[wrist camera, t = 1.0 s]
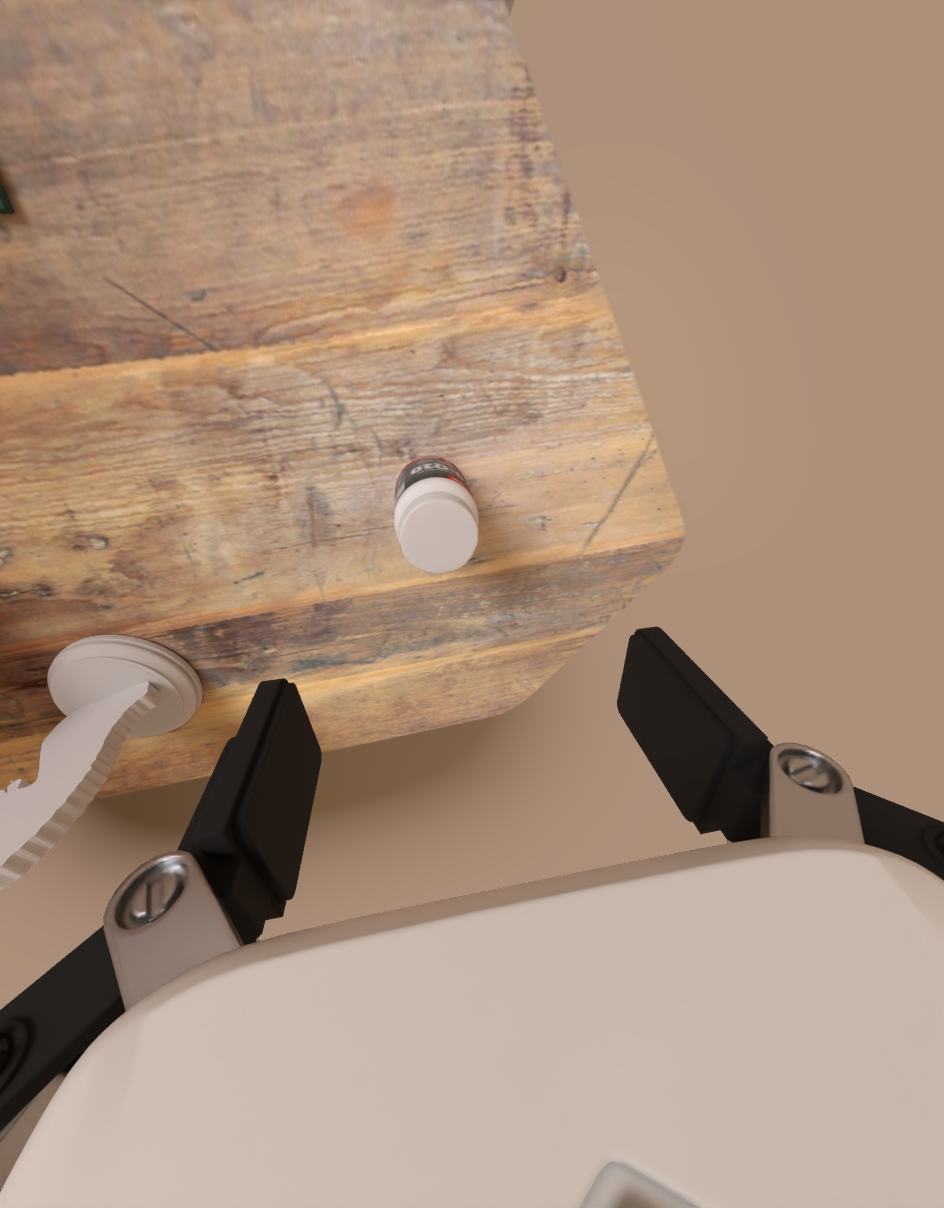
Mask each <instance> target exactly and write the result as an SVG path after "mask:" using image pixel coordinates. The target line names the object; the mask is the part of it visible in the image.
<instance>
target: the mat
mask: <svg viewBox="0 0 944 1208" xmlns="http://www.w3.org/2000/svg"><path fill="white" fill-rule="evenodd" d="M0 213H14V211H13V209H12V207H11V205H10V203H9V201H8V199H7V197H6V195H5V193H4V191H3V189H2V186H1V184H0Z"/></svg>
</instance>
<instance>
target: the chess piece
mask: <svg viewBox="0 0 944 1208" xmlns="http://www.w3.org/2000/svg"><path fill="white" fill-rule="evenodd" d="M47 681H48V687H49V690H50V692H51V696H52V698H53V701H54V702H55V704H56V705H57V707H58V708H59V709H60V710H61V711H62V712H63V713H64V714H65V715H66V716H67V717H66V718H65V719H64V720H62V721H61V722H60V723H59V724H58V725H57V726H56V727H55V728H54V729H53V730H52V731H51V732H50V733H49V734H48V736H47V737H46V738H45V740H44V742H43V744H42V748H41V753H40V768H39V773H38V778H37V780H36V781H35V782H34V783H33V784H32V785H31V784H29V783H27V782H26V781H24V780H22V779H18V780H16V781H12V780H11V784H10V785H9V786H8V787H7V789H8V791H7V792H6V791H4V790H1V791H0V890H1V889H4V888H6V887H7V886H8V885H10V884H11V883H12V882H13V881H14V880H16V879H18V878H20V877H22V876H24V875H25V874H26V872H27V871H28V870H29V869H30V867H31V866H32V865H33V864H34V863H35V862H37V861H38V860H40V859H41V858H42V857H43V856H44V855H45V853H46V852H47V851H48V850H49V849H50V848H52V847H53V846H55V845H56V844H57V842H58V841H59V839H60V838H61V836H62V835H63V834H64V833H65V832H67V831H68V830H69V829H70V828H71V826H72V825H73V823H74V821H75V820H76V819H77V818H78V817H79V816H80V815H81V814H82V813H83V812H84V811H85V808H86V806H87V805H88V804H89V803H90V802H91V801H92V800H93V798H94V796H95V794H96V793H97V792H98V791H99V790H100V789H101V786H102V784H103V783H104V782H105V781H106V780H107V779H108V777H107V775H108V773H109V772H110V771H111V770H112V765H113V764H114V763H115V761H116V758H117V756H118V753H119V750H120V748H121V746H122V744H123V743H124V741H125V738H145V737H151V736H155V735H159V734H162V733H166V732H169V731H172V730H174V729H176V728H178V727H180V726H182V725H183V724H184V723H186V722H187V721H188V720H189V719H190V718H191V717H192V716H193V715H194V714H195V713H196V711H197V710H198V708H199V706H200V704H201V701H202V697H203V689H202V685H201V682H200V679H199V677H198V675H197V674H196V672H195V671H194V670H193V668H192V667H191V666H190V665H189V664H188V663H187V662H186V661H185V660H183V659H182V658H181V657H180V656H178V655H177V654H175V653H174V652H172V651H170V650H168V649H167V648H165V647H163V646H160V645H158V644H156V643H153V642H150V641H147V640H144V639H140V638H136V637H131V636H124V635H98V636H92V637H87V638H83V639H80V640H78V641H76V642H73V643H72V644H70V645H68V646H67V647H66V648H64V649H63V650H62V651H61V652H60V653H59V654H58V655H57V656H56V657H55V659H54V660H53V663H52V664H51V666H50V668H49V671H48V676H47Z"/></svg>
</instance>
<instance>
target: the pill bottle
mask: <svg viewBox="0 0 944 1208" xmlns="http://www.w3.org/2000/svg"><path fill="white" fill-rule="evenodd" d="M478 524H479V514H478V509H477V505H476V502H475V500H474V498H473V496H472V494H471V492H470V490H469V488H468V486H467V484H466V482H465V480H464V477H463V476H462V474H461V472H460V471H459V469H458V468H457V467H456V466H455V465H454V464H453V463H451V462H450V461H448V460H446V459H444V458H442V457H438V456H423V457H419V458H417V459H414V460H413V461H411V462H410V463H408V464H407V465H406V466H405V467H404V469H403V470H402V471H401V473H400V475H399V477H398V479H397V483H396V488H395V504H394V527H395V531H396V534H397V537H398V539H399V540H400V545H401V548H402V551H403V553H404V555H405V556H406V558H407V559H408V560H409V561H410V562H411V563H412V564H413V565H414V566H415V567H417V568H419V569H421V570H423V571H425V572H429V573H435V574H442V573H448V572H452V571H454V570H457V569H458V568H460V567H462V566H463V565H464V564H466V563H467V562H468V561H469V560H470V558H471V557H472V556H473V554H474V552H475V550H476V547H477V544H478V537H479V533H478Z"/></svg>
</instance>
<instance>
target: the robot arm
mask: <svg viewBox="0 0 944 1208" xmlns="http://www.w3.org/2000/svg"><path fill="white" fill-rule="evenodd" d="M617 707H618V710H619V713H620V715H621V717H622V718H623V720H624V721H625V723H626V725H627V726H628V728H629V730H630V731H631V733H632V734H633V736H634V738H635V739H636V741H637V742H638V744H639V745H640V747H641V749H642V750H643V752H644V753H645V755H646V757H647V758H648V760H649V762H650V763H651V765H652V766H653V768H654V770H655V771H656V773H657V774H658V776H659V778H660V779H661V781H662V782H663V784H664V786H665V787H666V789H667V790H668V792H669V794H670V795H671V797H672V798H673V800H674V802H675V803H676V805H677V806H678V808H679V809H680V811H681V813H682V814H683V816H684V817H685V819H687V820H688V821H690V822H693V823H694V824H695V826H696V827H697V829H698V831H699V832H700V834H703V833H709V832H714V831H718V830H721V831H722V833H723V834H724V836H725V837H726V839H727V844H724V845H718V846H712V847H707V848H701V849H696V850H690V851H685V852H679V853H674V854H669V855H664V856H659V857H654V858H649V859H644V860H639V861H634V862H629V863H623V864H618V865H613V866H608V867H603V868H598V869H593V870H588V871H583V872H579V873H573V874H568V875H563V876H558V877H553V878H548V879H543V880H538V881H534V882H528V883H523V884H518V885H513V886H509V887H503V888H499V889H494V890H489V891H484V892H479V893H474V894H470V895H465V896H460V897H455V898H450V899H445V900H440V901H435V902H430V903H426V904H421V905H416V906H411V907H406V908H401V909H397V910H392V911H387V912H382V913H377V914H373V915H368V916H363V917H358V918H354V919H349V920H345V921H340V922H336V923H332V924H328V925H323V926H318V927H314V928H309V929H305V930H301V931H297V932H292V933H287V934H284V935H280V936H277V937H273V938H269V939H266V940H262V941H260V940H259V938H258V937H259V936H260V935H261V934H262V932H263V928H264V924H265V920H269V919H274V918H279V917H283V914H284V909H285V905H286V900H291V899H292V898H293V896H294V894H295V890H296V885H297V880H298V875H299V871H300V865H301V861H302V855H303V851H304V845H305V841H306V836H307V831H308V825H309V820H310V816H311V811H312V806H313V801H314V796H315V790H316V785H317V781H318V776H319V770H320V765H321V749H320V746H319V744H318V741H317V738H316V736H315V733H314V731H313V728H312V726H311V723H310V720H309V718H308V715H307V713H306V710H305V708H304V705H303V703H302V700H301V697H300V695H299V692H298V690H297V687H296V685H295V684H294V683H288V681H287V680H286V679H284V678H283V679H276V680H269V681H262V682H261V683H260V684H259V686H258V688H257V690H256V692H255V695H254V697H253V699H252V701H251V704H250V706H249V708H248V710H247V713H246V715H245V717H244V719H243V722H242V724H241V726H240V728H239V731H238V733H237V735H236V737H232V738H231V739H230V740H229V741H228V742H227V744H226V745H225V747H224V749H223V752H222V754H221V756H220V758H219V760H218V762H217V765H216V767H215V769H214V771H213V773H212V776H211V778H210V780H209V782H208V784H207V786H206V789H205V791H204V793H203V795H202V797H201V799H200V802H199V804H198V806H197V808H196V810H195V813H194V815H193V817H192V819H191V821H190V824H189V826H188V828H187V830H186V833H185V834H184V836H183V839H182V841H181V843H180V845H179V847H178V849H177V851H169V852H166V853H163V854H161V855H158V856H155V857H154V858H152V859H150V860H149V861H147V862H145V863H144V864H142V865H141V866H139V867H138V868H137V869H136V870H135V871H134V872H132V873H131V874H130V875H129V876H128V877H127V878H126V879H125V880H124V881H123V883H122V884H121V885H120V886H119V887H118V888H117V890H116V891H115V893H114V894H113V896H112V898H111V899H110V901H109V903H108V905H107V908H106V911H105V914H104V918H103V919H104V925H103V926H102V927H101V928H100V929H99V930H97V931H96V932H95V933H94V934H93V935H91V936H90V937H89V938H88V939H86V940H85V941H84V942H83V943H82V944H80V945H79V946H78V947H77V948H76V949H74V950H73V951H72V952H71V953H69V954H68V955H67V956H66V957H65V958H63V959H62V960H61V961H60V962H58V963H57V964H56V965H55V966H54V967H52V968H51V969H50V970H49V971H47V972H46V973H45V974H44V975H43V976H41V977H40V978H39V979H38V980H36V981H35V982H34V983H33V984H32V985H30V986H29V987H28V988H27V989H25V990H24V991H23V992H22V993H21V994H19V995H18V996H17V997H16V998H14V1000H12V1001H11V1002H10V1003H8V1004H7V1005H6V1006H5V1007H4V1008H2V1009H1V1010H0V1208H944V822H942V821H939V820H937V819H934V818H932V817H929V816H927V815H924V814H921V813H919V812H916V811H914V810H911V809H909V808H906V807H904V806H901V805H899V804H896V803H894V802H891V801H888V800H886V799H884V798H881V797H878V796H876V795H873V794H871V793H868V792H865V791H863V790H861V789H858V788H856V787H853V785H852V782H851V780H850V777H849V775H848V774H847V773H846V772H845V770H844V769H843V768H842V767H841V766H840V765H839V764H838V763H836V762H835V761H834V760H833V759H831V758H830V757H829V756H827V755H825V754H824V753H822V752H820V751H818V750H816V749H813V748H811V747H808V746H806V745H802V744H797V743H781V744H778V745H776V746H773V745H772V744H771V743H770V742H769V741H768V740H767V738H768V737H767V736H766V735H765V734H764V733H763V732H762V731H761V730H760V729H759V728H758V727H757V726H756V725H755V724H754V723H753V722H752V721H751V720H750V719H749V718H748V717H747V716H746V715H745V714H744V713H743V712H742V711H741V710H740V709H739V708H738V707H737V706H736V705H735V704H734V703H733V702H732V700H730V698H729V697H728V696H727V695H726V694H724V693H723V691H722V690H721V689H720V688H719V687H718V686H717V685H716V684H715V683H714V682H713V681H712V680H711V679H710V678H709V677H708V676H707V675H706V674H705V673H704V672H703V671H702V670H701V669H700V668H699V667H698V666H697V665H696V664H695V663H694V662H693V661H692V660H691V659H690V658H689V657H688V656H687V655H686V654H685V652H684V651H683V650H682V649H681V648H680V647H679V646H677V644H676V643H675V642H674V641H673V640H672V639H671V638H670V637H669V636H668V635H667V634H666V633H665V632H664V631H663V630H662V629H661V628H659V627H651V628H643V629H638V630H636V632H635V634H634V635H632V636H630V639H629V643H628V648H627V653H626V659H625V664H624V669H623V674H622V679H621V684H620V689H619V695H618V700H617Z"/></svg>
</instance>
